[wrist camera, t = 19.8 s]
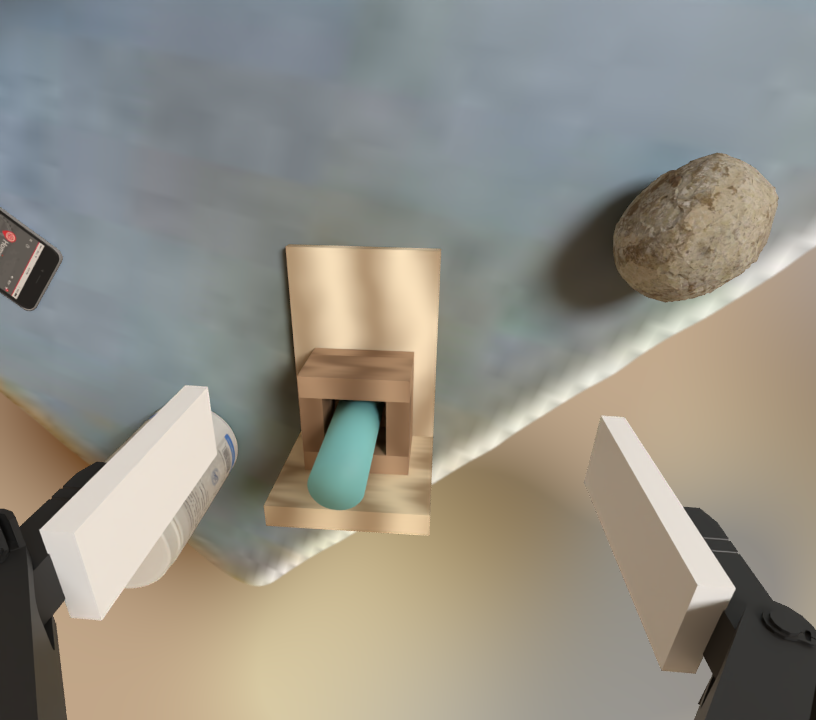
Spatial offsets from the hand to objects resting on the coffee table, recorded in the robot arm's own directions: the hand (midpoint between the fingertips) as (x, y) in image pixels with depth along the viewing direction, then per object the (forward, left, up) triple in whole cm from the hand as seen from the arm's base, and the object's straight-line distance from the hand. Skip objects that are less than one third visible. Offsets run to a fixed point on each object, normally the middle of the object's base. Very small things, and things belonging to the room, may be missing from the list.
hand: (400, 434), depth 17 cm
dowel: (-5, -13, -25) cm, 28 cm away
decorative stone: (+19, +3, -28) cm, 34 cm away
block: (-5, -13, -26) cm, 30 cm away
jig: (-5, -9, -28) cm, 29 cm away
